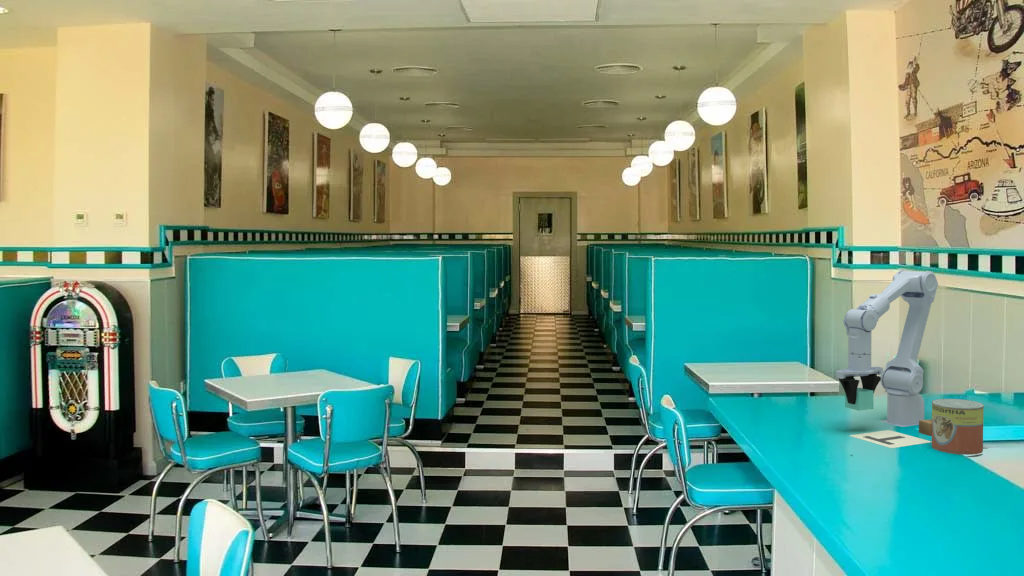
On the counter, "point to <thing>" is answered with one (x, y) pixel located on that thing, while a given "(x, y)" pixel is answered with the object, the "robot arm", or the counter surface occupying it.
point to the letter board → (890, 438)
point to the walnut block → (925, 427)
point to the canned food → (957, 426)
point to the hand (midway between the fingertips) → (859, 402)
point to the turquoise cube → (861, 400)
